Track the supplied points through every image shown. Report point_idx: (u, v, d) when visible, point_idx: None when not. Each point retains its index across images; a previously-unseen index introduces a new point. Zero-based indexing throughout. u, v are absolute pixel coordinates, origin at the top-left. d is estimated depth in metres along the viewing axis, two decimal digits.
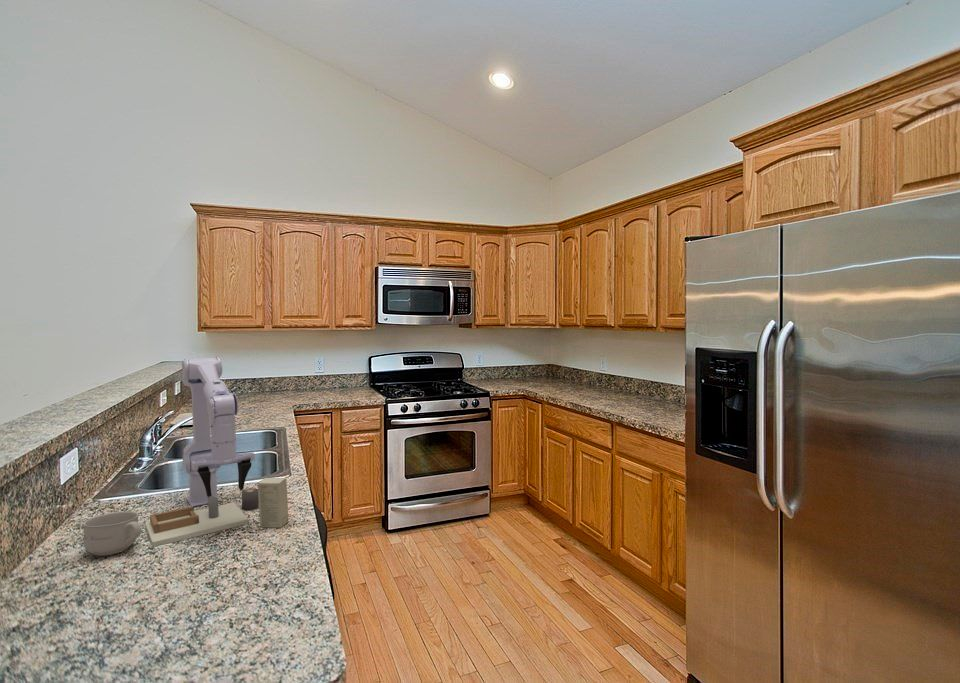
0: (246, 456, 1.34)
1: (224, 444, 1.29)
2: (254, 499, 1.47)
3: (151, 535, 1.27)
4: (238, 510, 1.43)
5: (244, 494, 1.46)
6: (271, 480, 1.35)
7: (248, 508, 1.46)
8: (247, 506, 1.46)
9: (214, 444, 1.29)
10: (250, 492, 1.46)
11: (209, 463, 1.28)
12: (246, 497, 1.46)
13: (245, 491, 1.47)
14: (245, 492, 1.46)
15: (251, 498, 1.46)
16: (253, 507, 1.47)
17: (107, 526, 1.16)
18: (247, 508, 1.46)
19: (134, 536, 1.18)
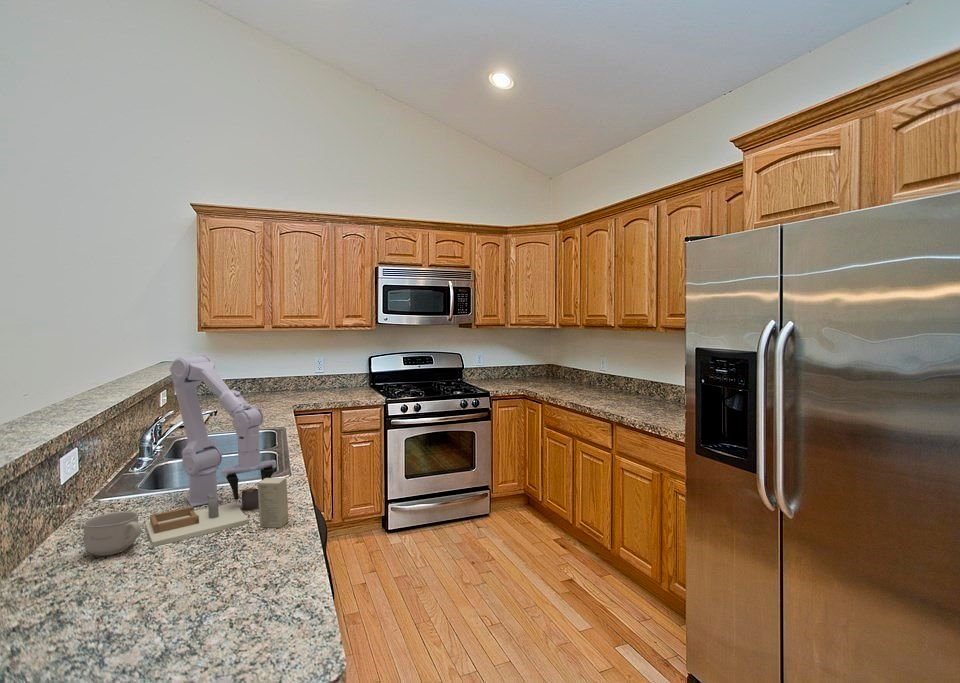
0: (269, 463, 1.50)
1: (250, 453, 1.45)
2: (254, 499, 1.47)
3: (151, 535, 1.27)
4: (238, 510, 1.43)
5: (244, 494, 1.46)
6: (271, 480, 1.35)
7: (248, 508, 1.46)
8: (247, 506, 1.46)
9: (241, 453, 1.45)
10: (250, 492, 1.46)
11: (237, 470, 1.44)
12: (246, 497, 1.46)
13: (245, 491, 1.47)
14: (245, 492, 1.46)
15: (251, 498, 1.46)
16: (253, 507, 1.47)
17: (107, 526, 1.16)
18: (247, 508, 1.46)
19: (134, 536, 1.18)
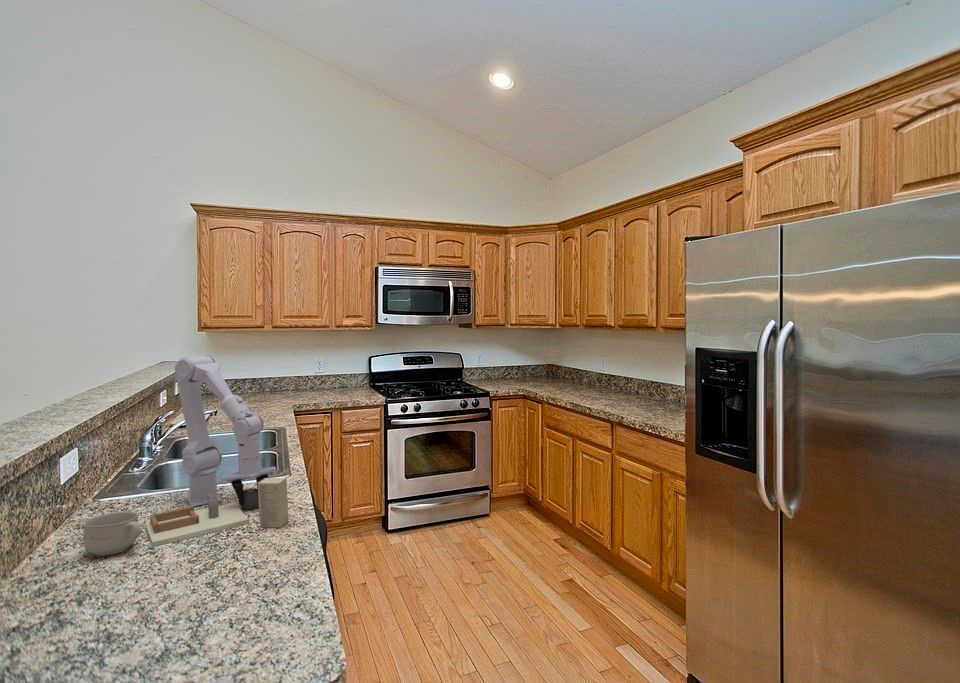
0: (269, 470, 1.50)
1: (250, 460, 1.45)
2: (254, 499, 1.47)
3: (151, 535, 1.27)
4: (238, 510, 1.43)
5: (244, 494, 1.46)
6: (271, 480, 1.35)
7: (248, 508, 1.46)
8: (247, 506, 1.46)
9: (241, 460, 1.45)
10: (250, 492, 1.46)
11: (237, 477, 1.44)
12: (246, 497, 1.46)
13: (245, 491, 1.47)
14: (245, 492, 1.46)
15: (251, 498, 1.46)
16: (253, 507, 1.47)
17: (107, 526, 1.16)
18: (247, 508, 1.46)
19: (134, 536, 1.18)
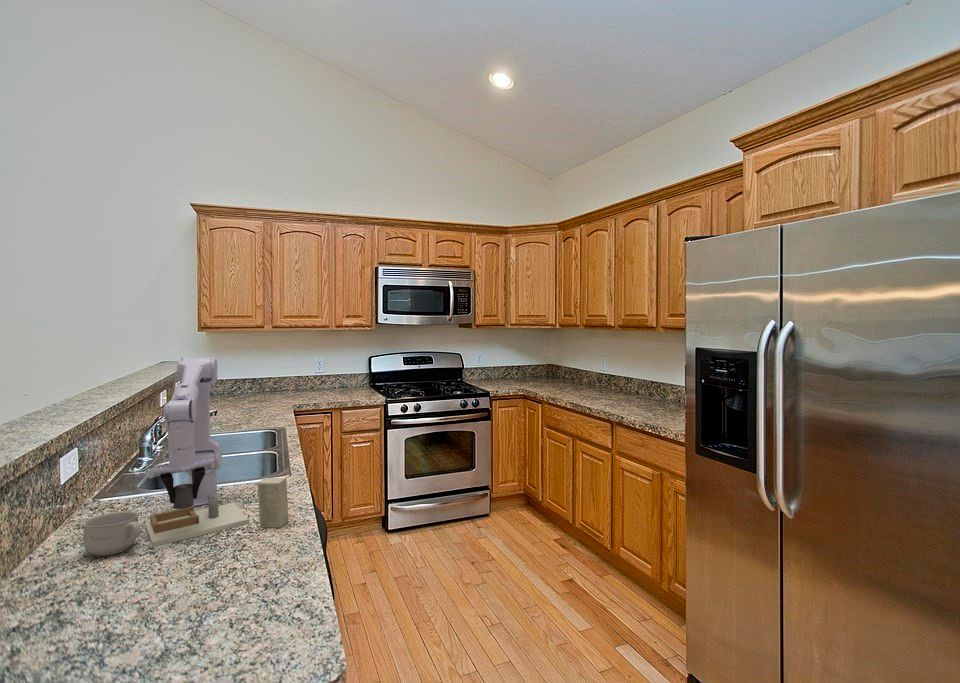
0: (205, 463, 1.30)
1: (181, 450, 1.25)
2: (187, 496, 1.27)
3: (151, 535, 1.27)
4: (238, 510, 1.43)
5: (175, 490, 1.26)
6: (271, 480, 1.35)
7: (179, 506, 1.26)
8: (178, 504, 1.26)
9: (171, 451, 1.25)
10: (182, 488, 1.27)
11: (165, 470, 1.24)
12: (177, 494, 1.26)
13: (177, 487, 1.28)
14: (176, 488, 1.27)
15: (183, 495, 1.26)
16: (185, 505, 1.27)
17: (107, 526, 1.16)
18: (178, 506, 1.26)
19: (134, 536, 1.18)
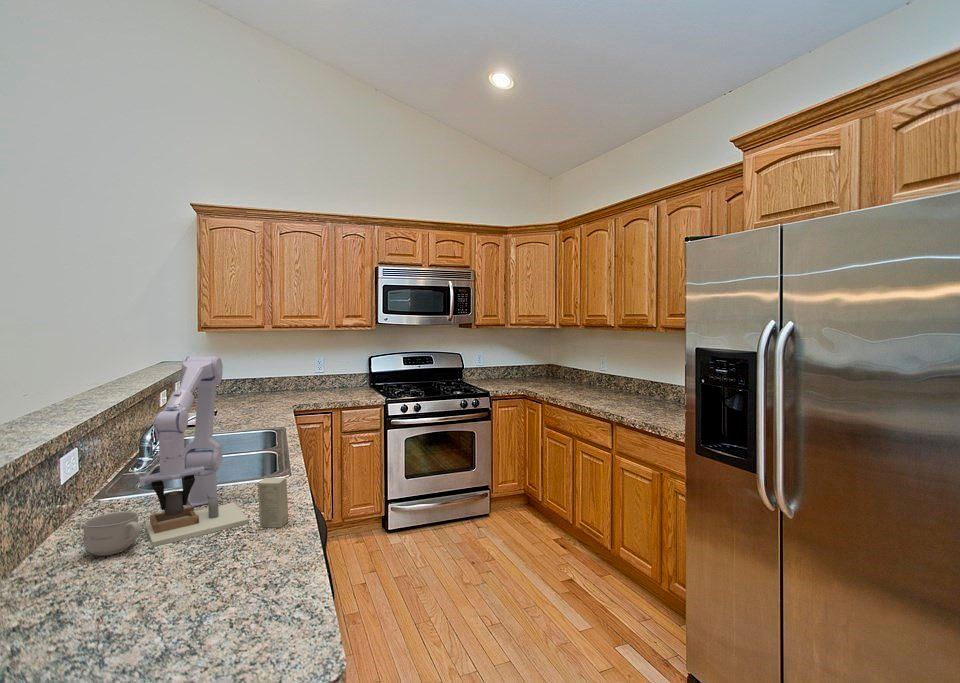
0: (195, 471, 1.36)
1: (172, 459, 1.31)
2: (177, 503, 1.33)
3: (151, 535, 1.27)
4: (238, 510, 1.43)
5: (165, 497, 1.32)
6: (271, 480, 1.35)
7: (170, 513, 1.32)
8: (169, 510, 1.32)
9: (162, 459, 1.31)
10: (172, 495, 1.32)
11: (156, 478, 1.30)
12: (167, 500, 1.32)
13: (168, 494, 1.33)
14: (167, 495, 1.33)
15: (173, 501, 1.32)
16: (176, 512, 1.32)
17: (107, 526, 1.16)
18: (169, 513, 1.32)
19: (134, 536, 1.18)
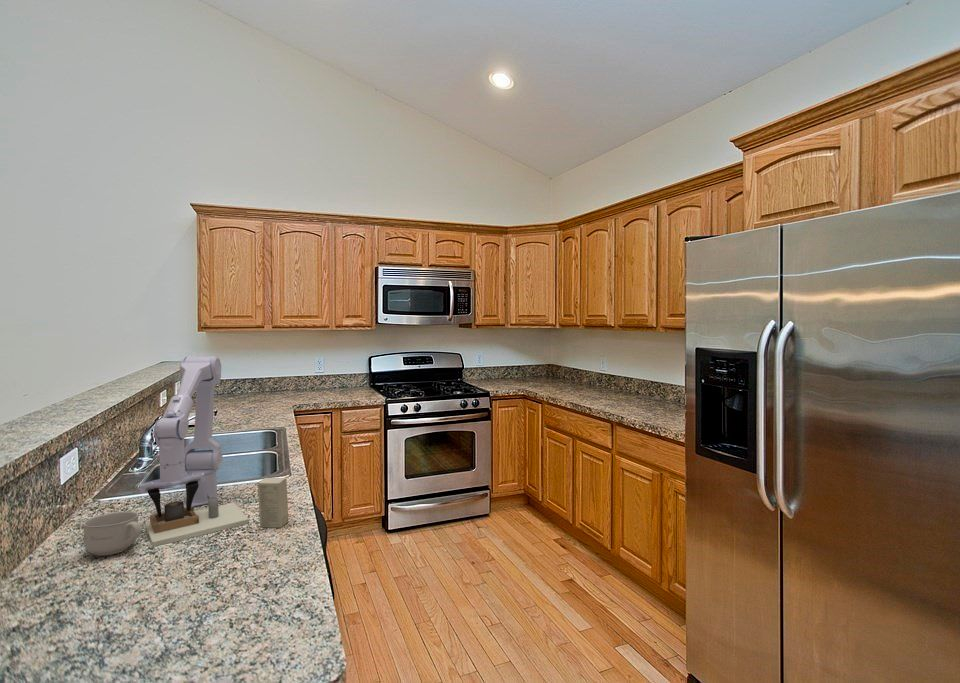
0: (195, 477, 1.36)
1: (172, 466, 1.31)
2: (177, 514, 1.33)
3: (151, 535, 1.27)
4: (238, 510, 1.43)
5: (166, 508, 1.32)
6: (271, 480, 1.35)
7: None
8: None
9: (162, 466, 1.31)
10: (173, 506, 1.33)
11: (157, 485, 1.30)
12: (168, 512, 1.32)
13: (168, 505, 1.34)
14: (167, 506, 1.33)
15: (173, 512, 1.32)
16: None
17: (107, 526, 1.16)
18: None
19: (134, 536, 1.18)
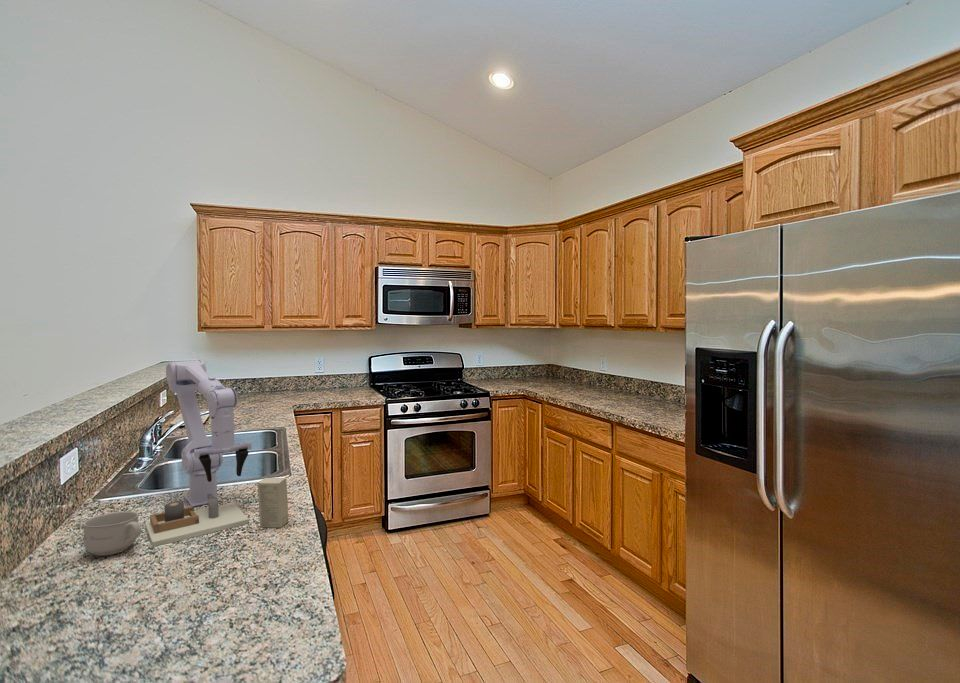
0: (243, 445, 1.46)
1: (223, 434, 1.41)
2: (177, 514, 1.33)
3: (151, 535, 1.27)
4: (238, 510, 1.43)
5: (166, 508, 1.32)
6: (271, 480, 1.35)
7: None
8: None
9: (214, 434, 1.41)
10: (173, 506, 1.33)
11: (209, 451, 1.40)
12: (168, 511, 1.32)
13: (168, 505, 1.34)
14: (168, 506, 1.33)
15: (173, 512, 1.32)
16: None
17: (107, 526, 1.16)
18: None
19: (134, 536, 1.18)
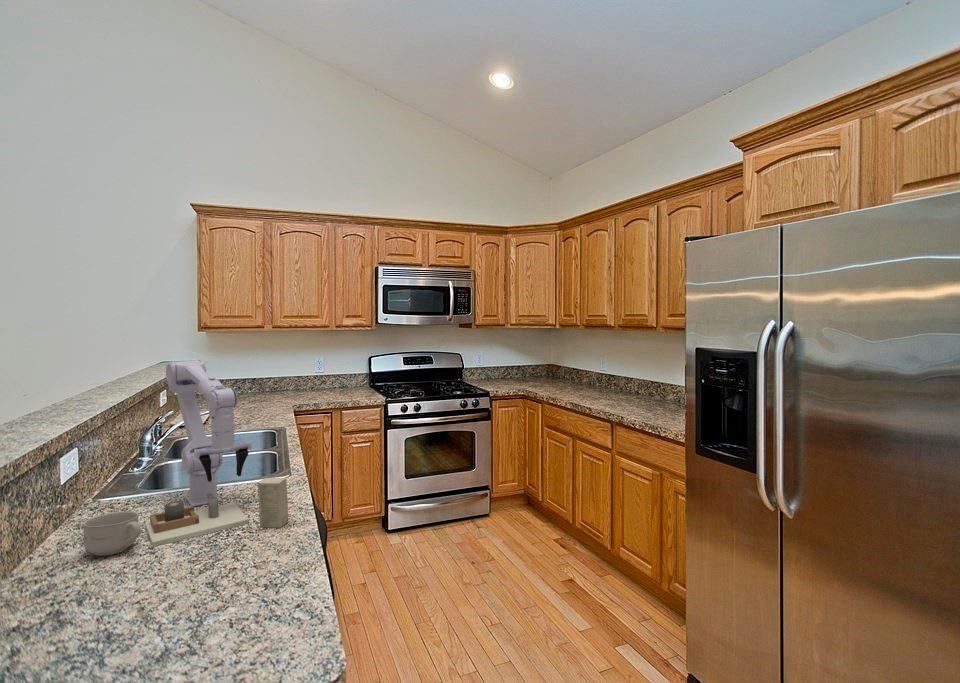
0: (243, 445, 1.46)
1: (223, 434, 1.41)
2: (177, 514, 1.33)
3: (151, 535, 1.27)
4: (238, 510, 1.43)
5: (166, 508, 1.32)
6: (271, 480, 1.35)
7: None
8: None
9: (214, 434, 1.41)
10: (173, 506, 1.33)
11: (210, 451, 1.40)
12: (168, 511, 1.32)
13: (168, 505, 1.34)
14: (168, 506, 1.33)
15: (173, 512, 1.32)
16: None
17: (107, 526, 1.16)
18: None
19: (134, 536, 1.18)
